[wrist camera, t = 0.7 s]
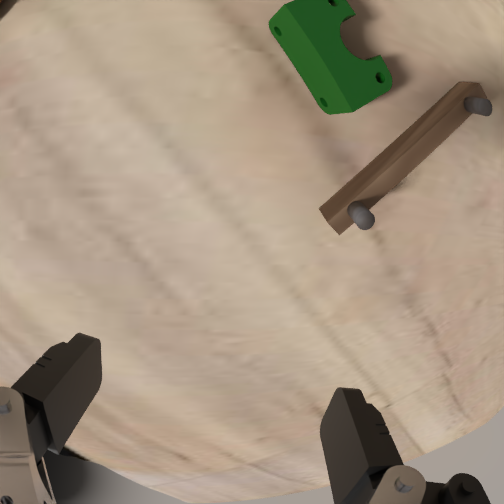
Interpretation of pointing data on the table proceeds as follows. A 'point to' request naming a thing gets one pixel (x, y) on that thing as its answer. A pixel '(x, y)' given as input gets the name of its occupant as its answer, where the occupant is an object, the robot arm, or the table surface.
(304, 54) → the clamp
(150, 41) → the table surface
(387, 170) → the bar
